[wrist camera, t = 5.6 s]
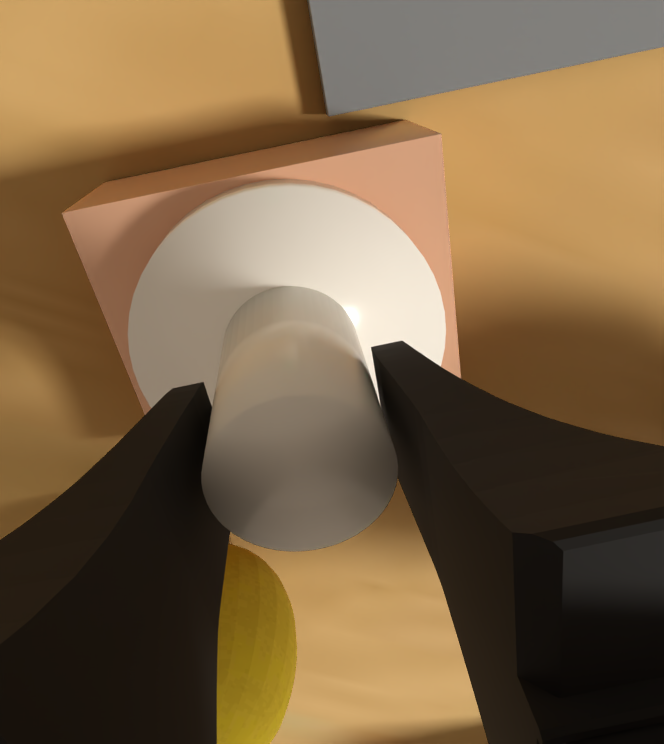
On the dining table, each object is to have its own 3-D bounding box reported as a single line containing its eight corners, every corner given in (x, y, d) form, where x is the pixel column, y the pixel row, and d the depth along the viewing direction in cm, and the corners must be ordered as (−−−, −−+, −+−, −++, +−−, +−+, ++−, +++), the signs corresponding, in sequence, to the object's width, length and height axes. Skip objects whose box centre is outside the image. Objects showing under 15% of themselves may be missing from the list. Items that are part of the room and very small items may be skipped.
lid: (432, 159, 12) (543, 223, 7) (436, 432, 15) (512, 600, 10) (98, 200, 12) (-22, 294, 7) (176, 468, 15) (132, 658, 10)
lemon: (109, 554, 21) (30, 802, 14) (216, 469, 19) (188, 696, 12) (220, 622, 23) (199, 864, 16) (321, 550, 22) (347, 780, 15)
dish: (405, 119, 15) (441, 133, 12) (433, 380, 19) (466, 442, 16) (104, 182, 15) (61, 213, 12) (195, 430, 19) (181, 502, 16)
